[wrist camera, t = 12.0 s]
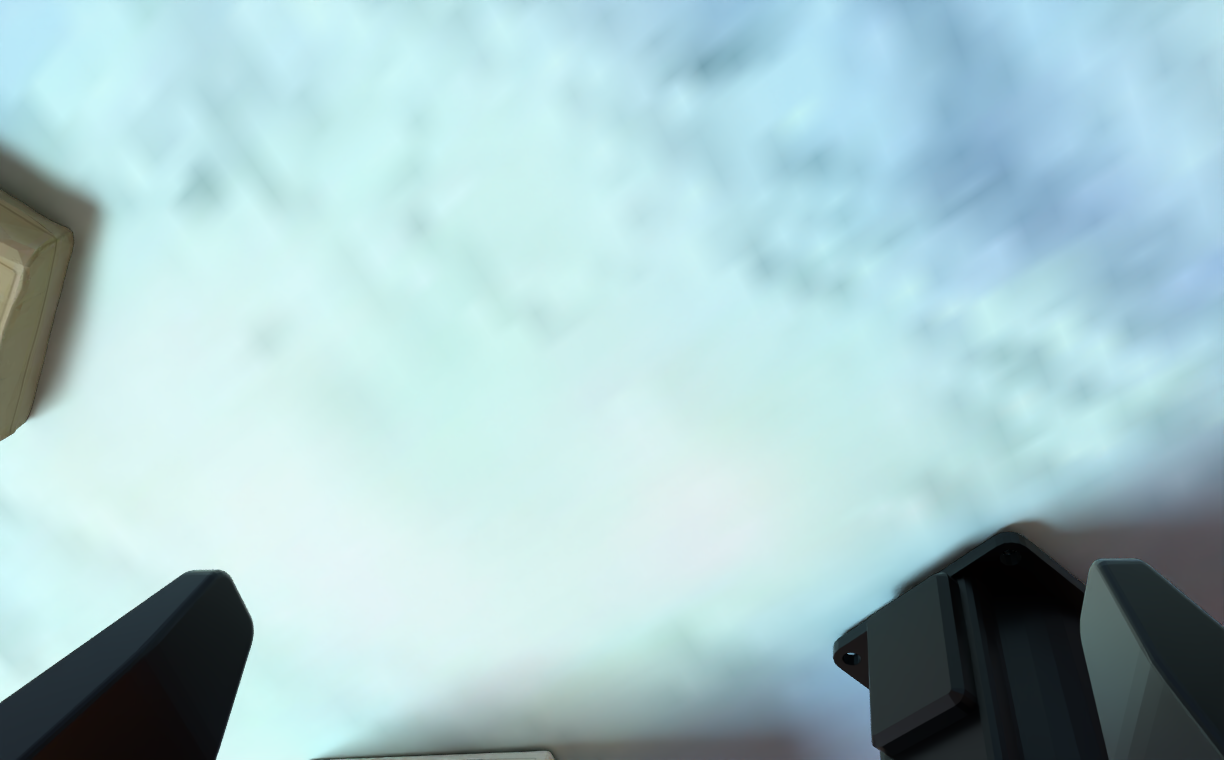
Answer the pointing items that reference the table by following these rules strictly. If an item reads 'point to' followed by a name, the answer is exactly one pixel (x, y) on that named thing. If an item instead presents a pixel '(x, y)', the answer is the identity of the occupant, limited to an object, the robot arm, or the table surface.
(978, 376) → the table surface
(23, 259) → the computer
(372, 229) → the table surface
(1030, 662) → the robot arm
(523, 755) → the light bulb box
